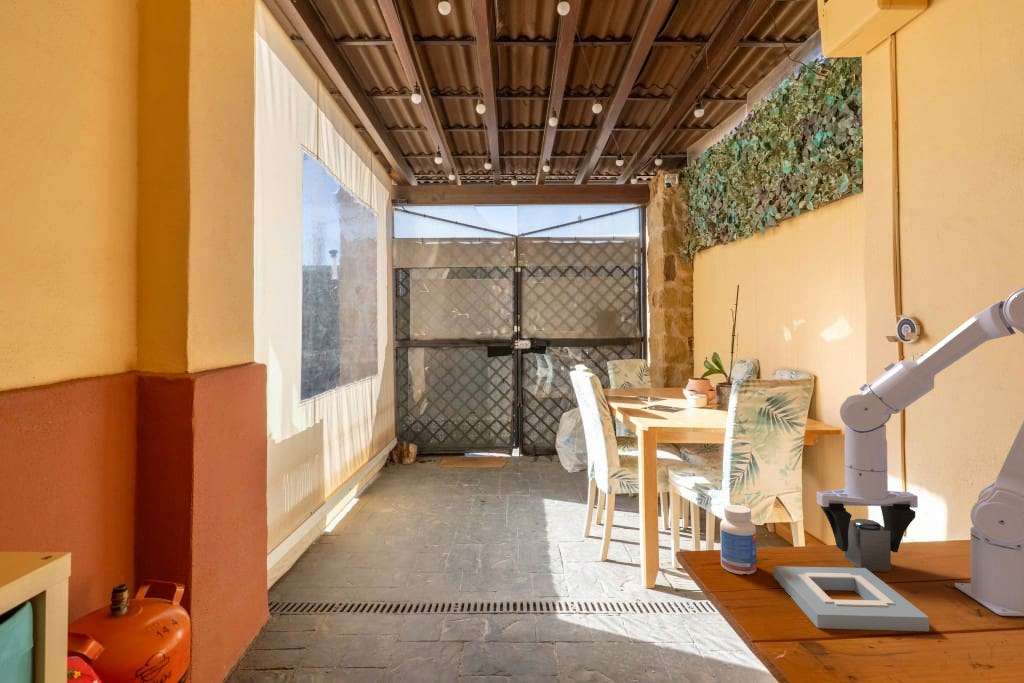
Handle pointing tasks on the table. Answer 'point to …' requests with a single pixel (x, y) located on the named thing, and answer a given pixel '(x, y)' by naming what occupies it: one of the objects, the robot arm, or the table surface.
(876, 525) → the lens block
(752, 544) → the pill bottle
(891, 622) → the mount plate
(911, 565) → the table surface
